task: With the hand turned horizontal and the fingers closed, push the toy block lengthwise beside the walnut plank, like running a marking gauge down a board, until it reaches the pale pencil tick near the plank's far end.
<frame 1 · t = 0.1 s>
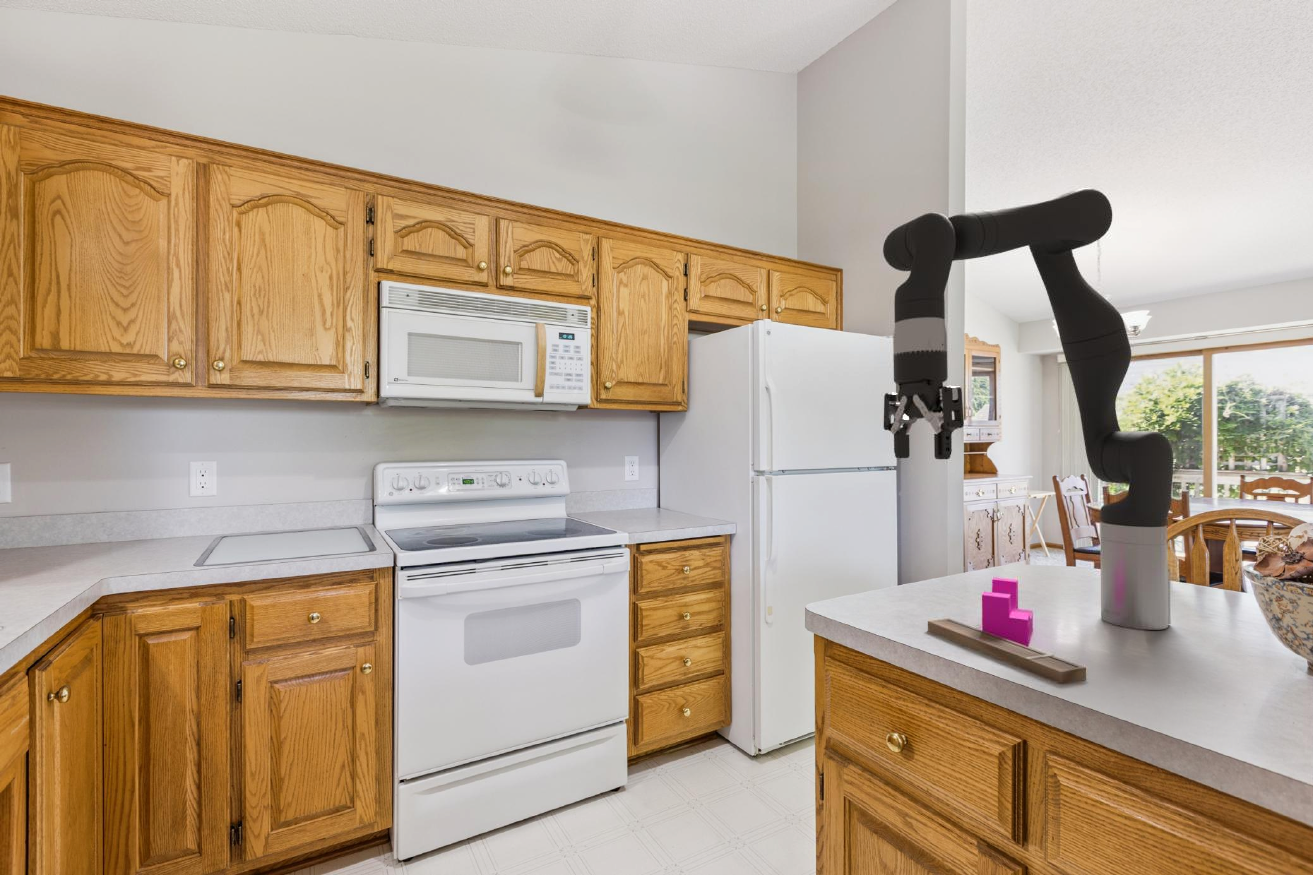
hand: (921, 458, 94), 29 cm above the worktop, tool pointing down, fingers open, 8 cm apart
toy block: (1009, 634, 104), on the worktop
walnut plank: (997, 652, 94), on the worktop
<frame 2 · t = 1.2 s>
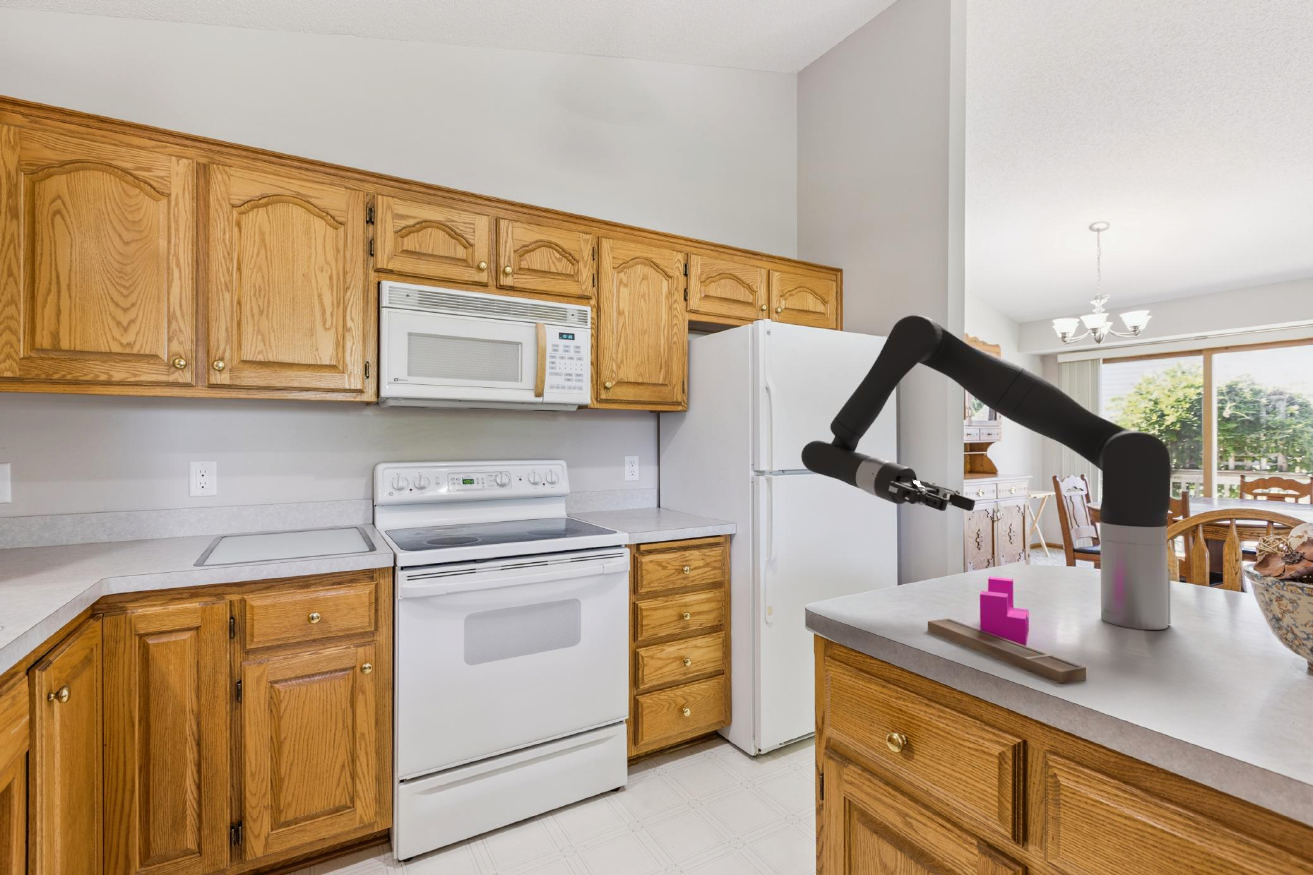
hand: (959, 505, 111), 20 cm above the worktop, tool horizontal, fingers open, 8 cm apart
nothing on the worktop moved.
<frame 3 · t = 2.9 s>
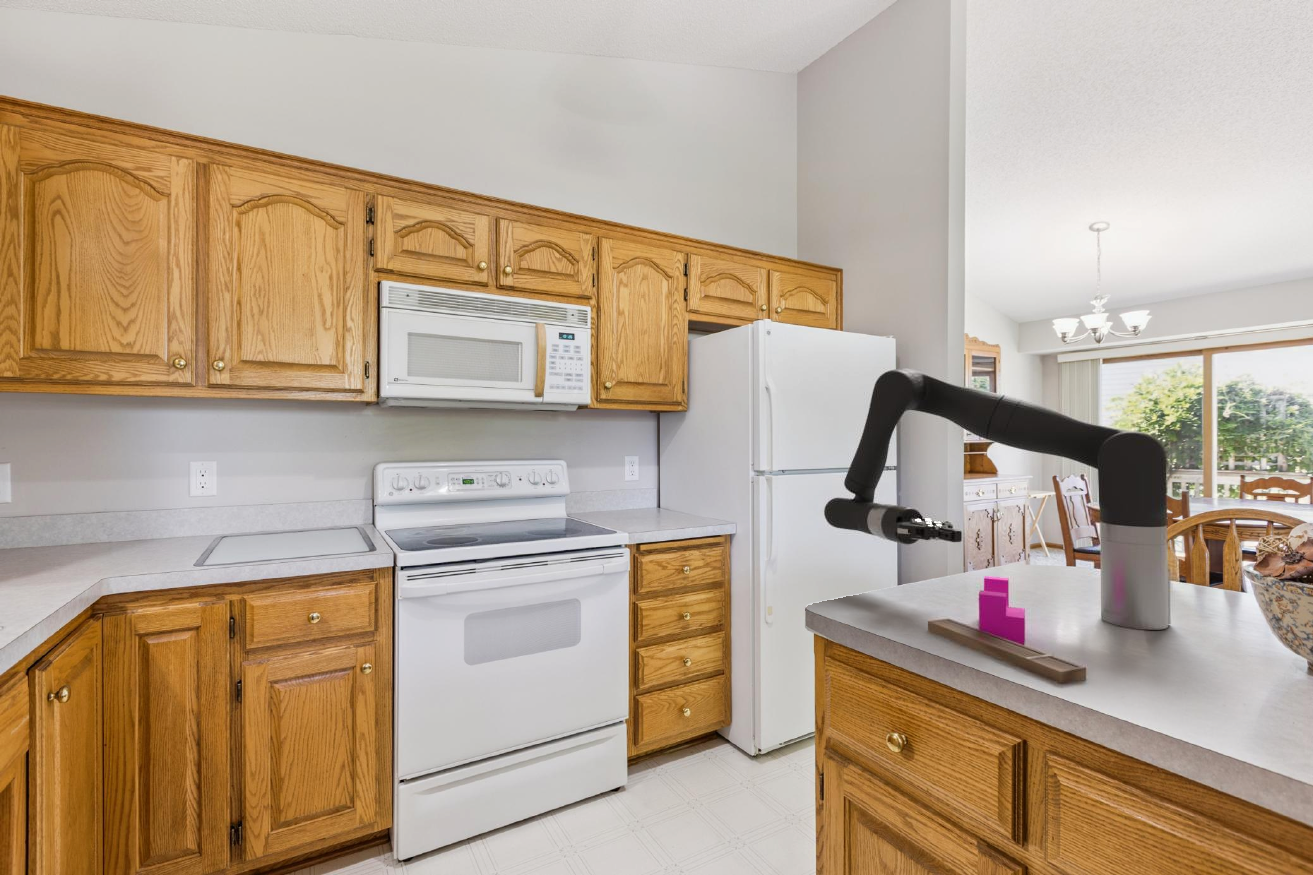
hand: (958, 536, 114), 14 cm above the worktop, tool horizontal, fingers closed
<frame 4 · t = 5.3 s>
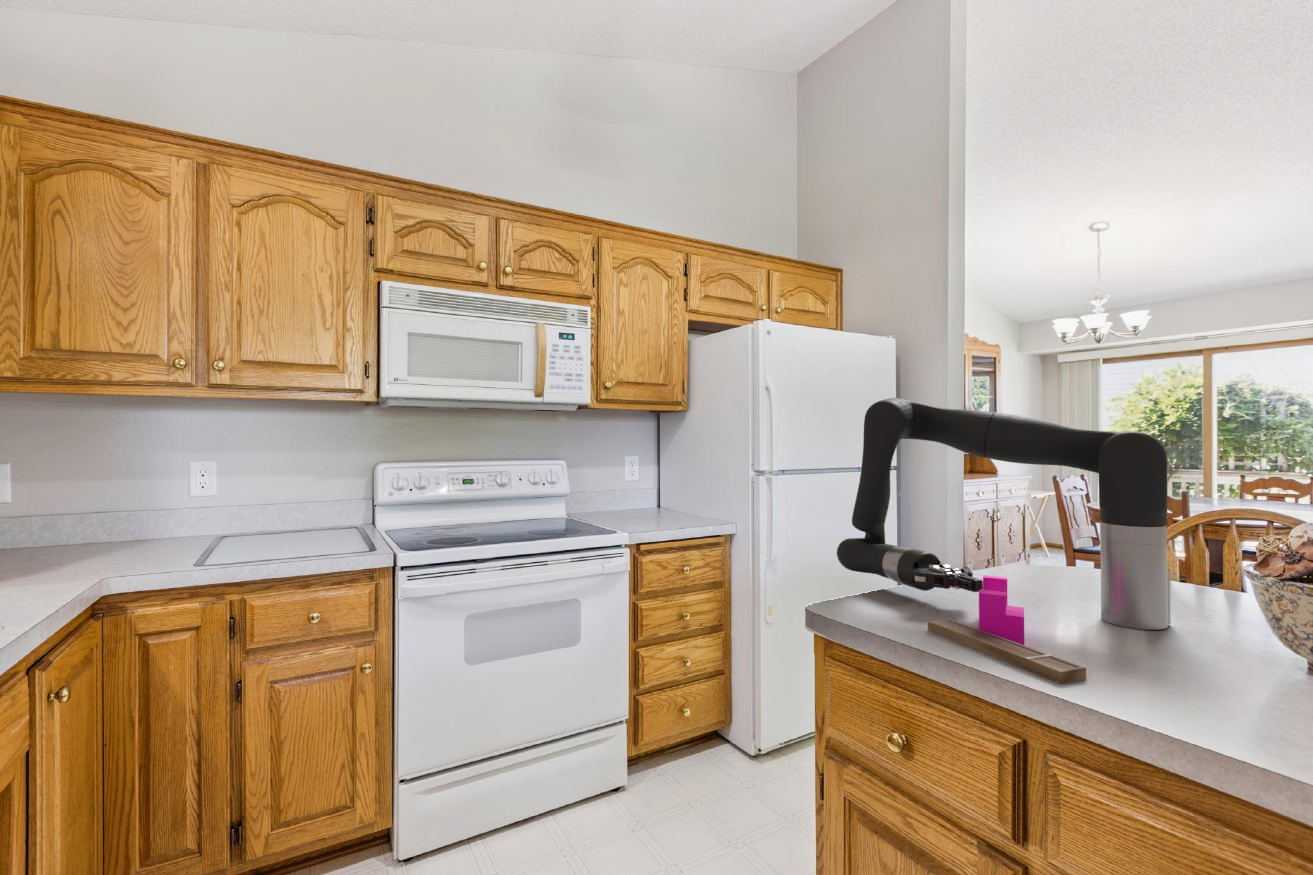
hand: (979, 586, 110), 6 cm above the worktop, tool horizontal, fingers closed
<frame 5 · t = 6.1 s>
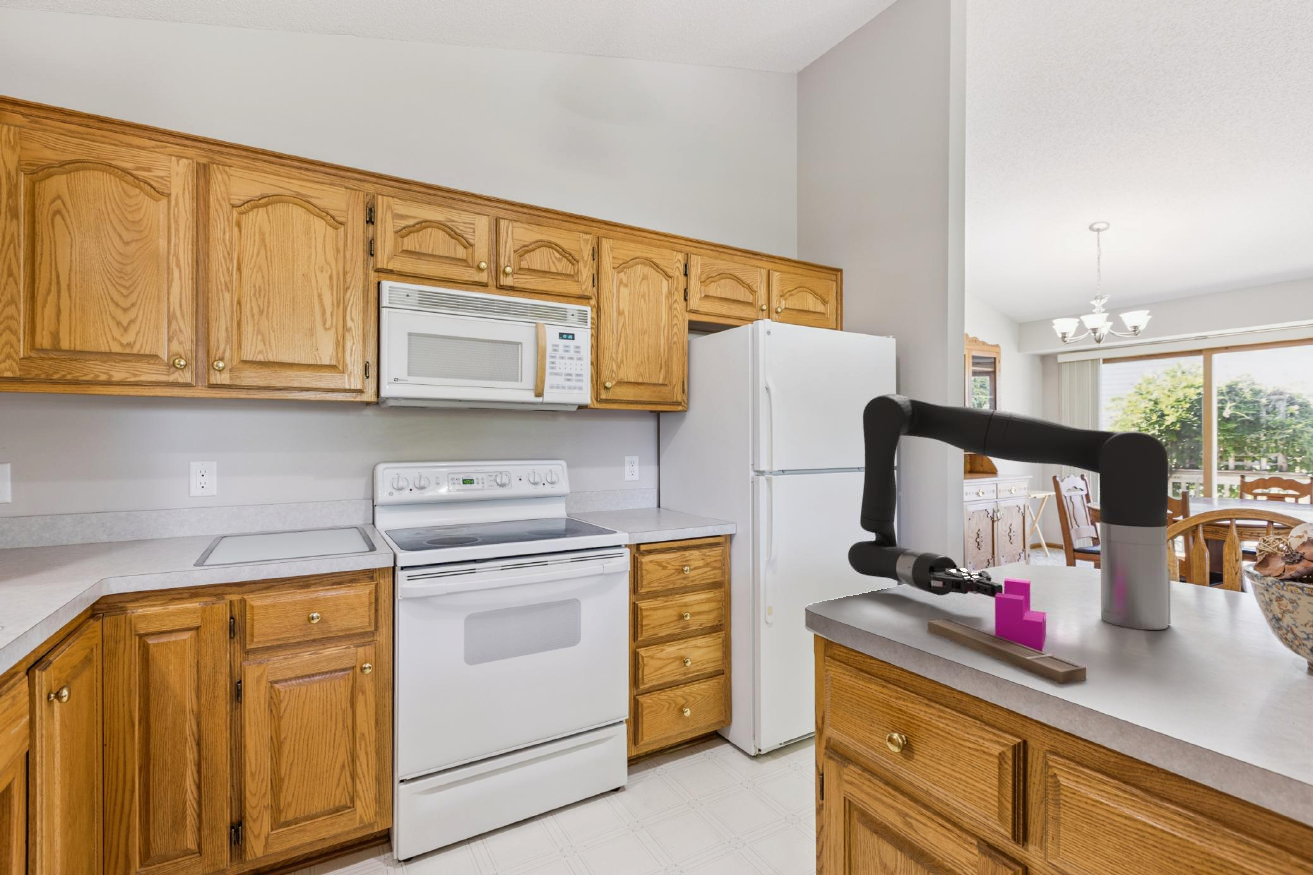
hand: (999, 591, 106), 6 cm above the worktop, tool horizontal, fingers closed
toy block: (1022, 636, 102), on the worktop, touching gripper
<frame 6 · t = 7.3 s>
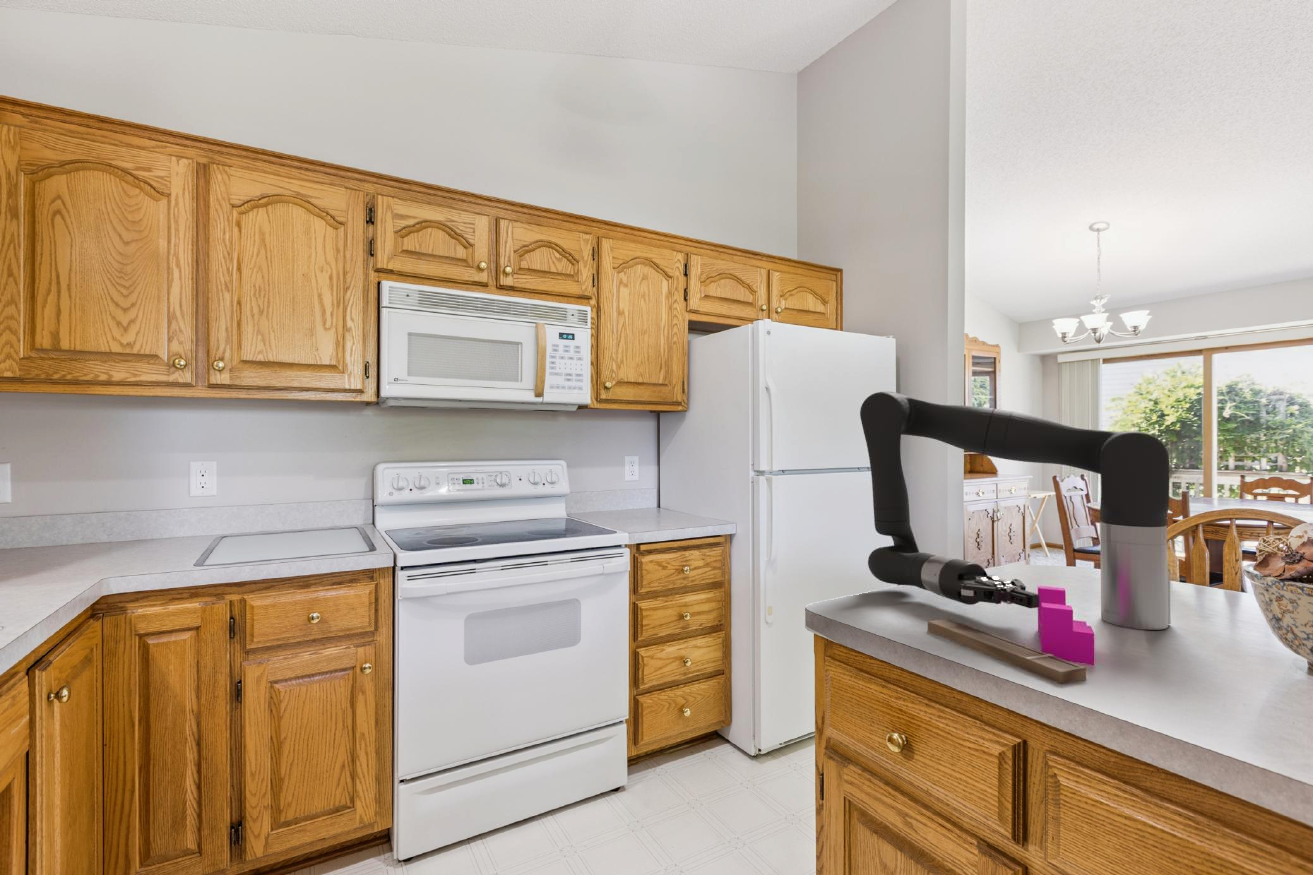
hand: (1036, 601, 99), 6 cm above the worktop, tool horizontal, fingers closed
toy block: (1063, 647, 96), on the worktop, touching gripper
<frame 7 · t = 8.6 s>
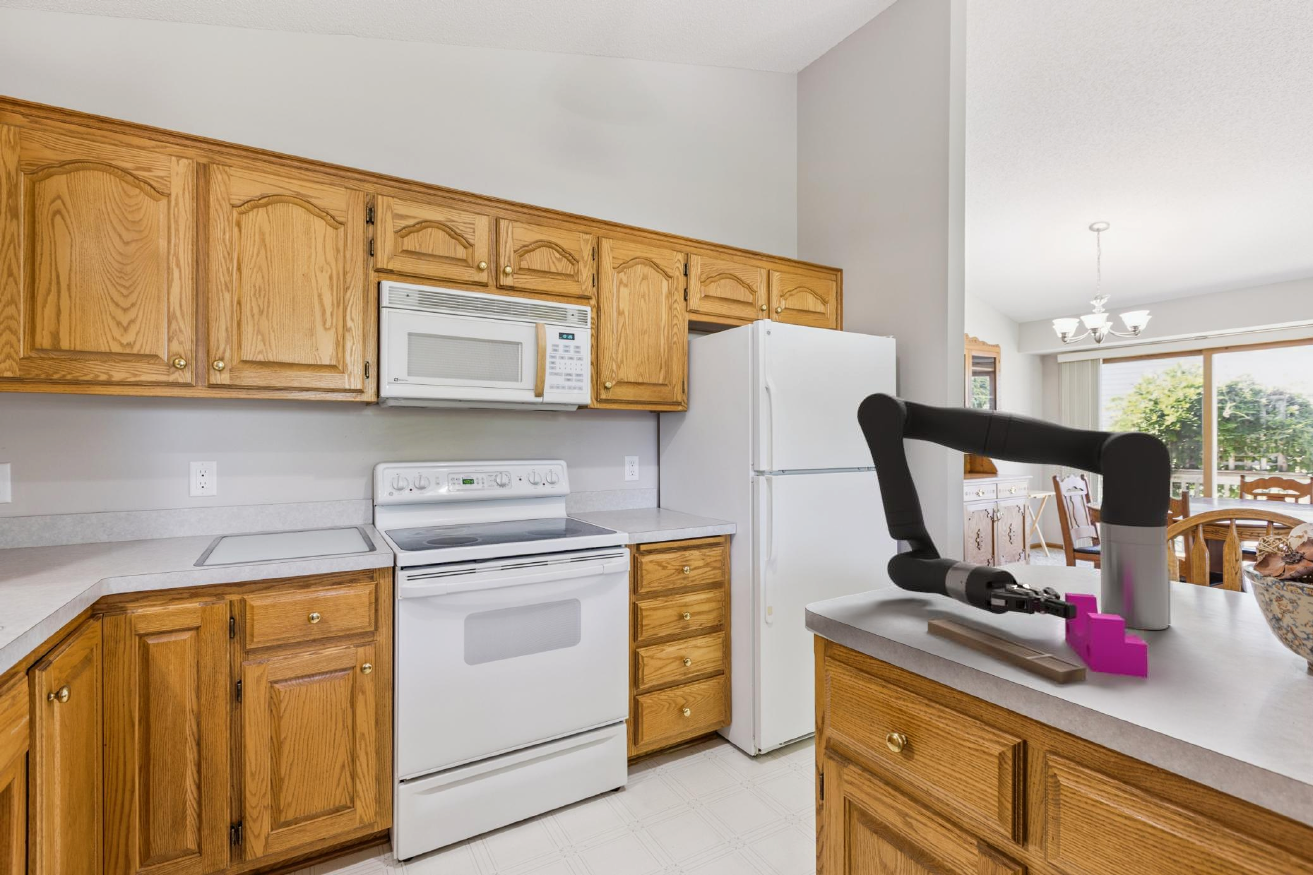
hand: (1073, 612, 93), 6 cm above the worktop, tool horizontal, fingers closed
toy block: (1102, 658, 92), on the worktop
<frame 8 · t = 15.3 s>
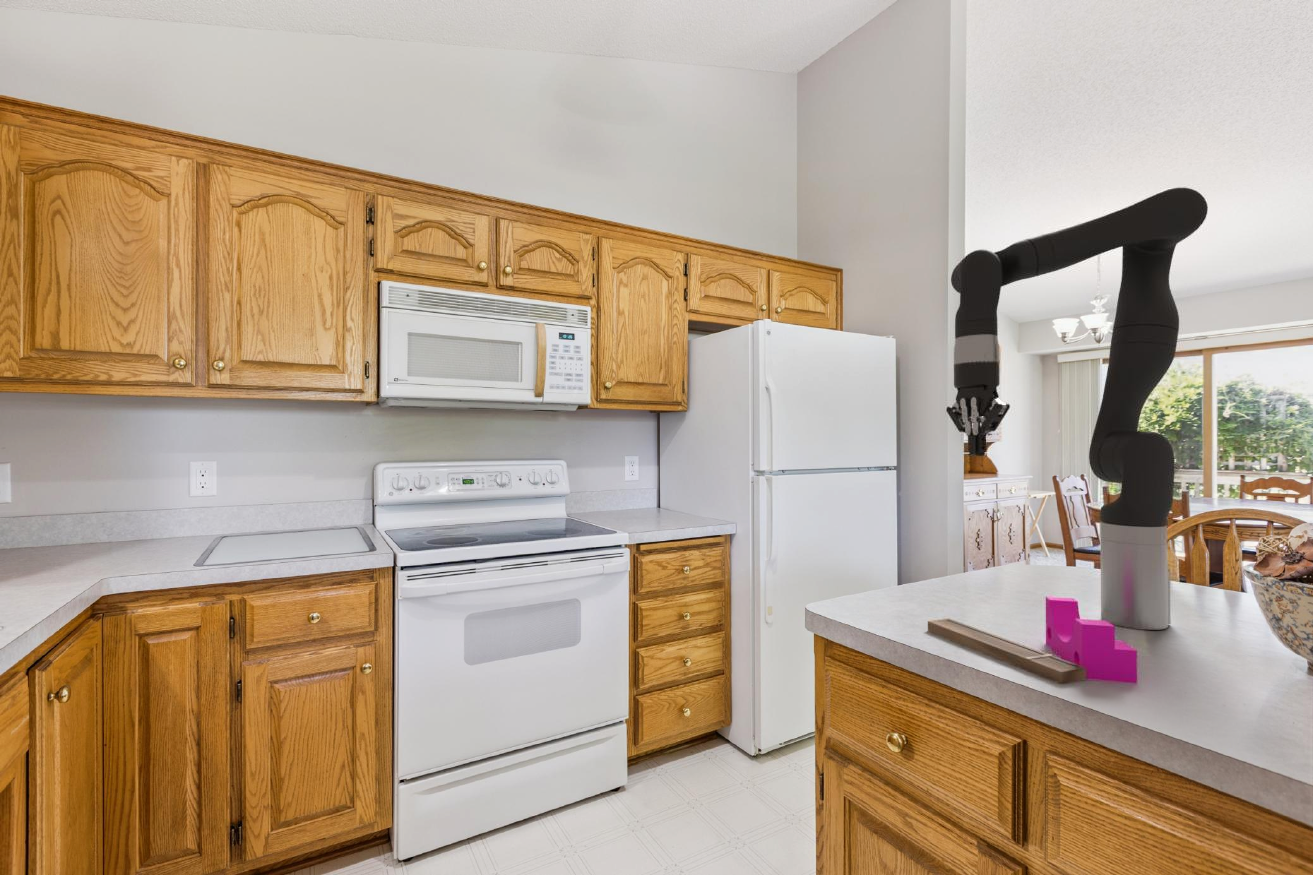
hand: (976, 455, 115), 29 cm above the worktop, tool pointing down, fingers closed
toy block: (1087, 664, 90), on the worktop, touching walnut plank
at the end: toy block inside the target area (1.7 cm from its centre), on the worktop; toy block tilted 0°; the gripper is holding nothing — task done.
